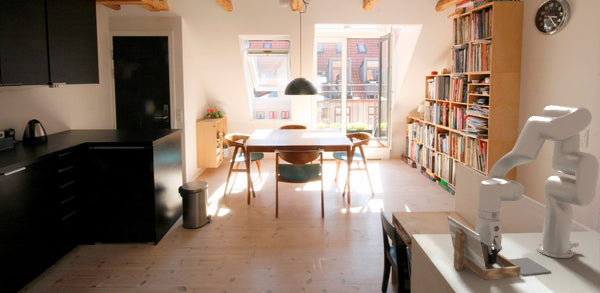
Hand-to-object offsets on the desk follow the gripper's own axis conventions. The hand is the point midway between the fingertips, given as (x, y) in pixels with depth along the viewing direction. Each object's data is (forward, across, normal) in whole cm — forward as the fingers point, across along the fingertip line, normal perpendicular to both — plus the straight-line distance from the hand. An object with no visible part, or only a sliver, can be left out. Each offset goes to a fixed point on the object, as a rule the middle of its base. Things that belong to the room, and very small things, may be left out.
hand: (485, 258), depth 159 cm
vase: (+3, 0, 0) cm, 3 cm away
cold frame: (+3, 0, +2) cm, 4 cm away
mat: (+3, -4, -14) cm, 15 cm away
